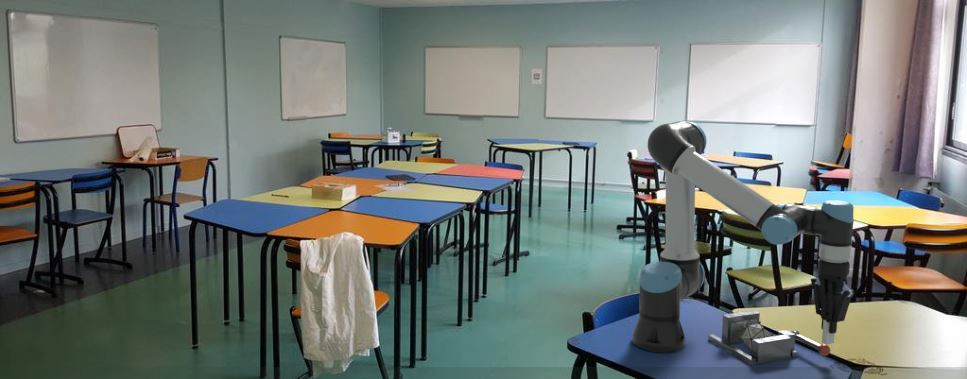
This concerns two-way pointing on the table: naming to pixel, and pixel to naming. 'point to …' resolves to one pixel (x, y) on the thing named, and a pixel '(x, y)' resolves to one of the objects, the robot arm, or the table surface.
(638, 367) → the table surface
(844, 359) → the table surface
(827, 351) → the lever
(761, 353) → the vise body
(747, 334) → the game die
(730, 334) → the jaw
